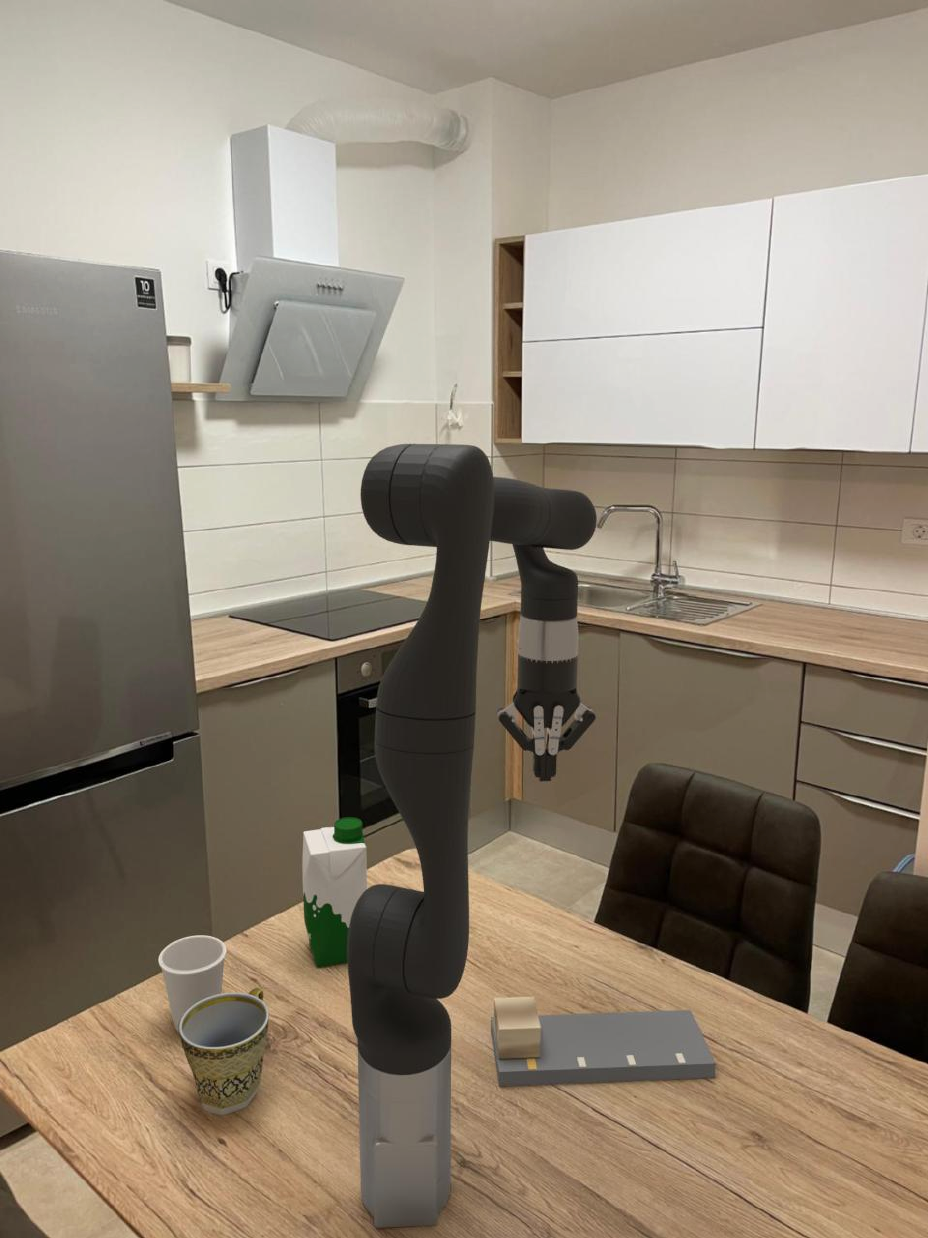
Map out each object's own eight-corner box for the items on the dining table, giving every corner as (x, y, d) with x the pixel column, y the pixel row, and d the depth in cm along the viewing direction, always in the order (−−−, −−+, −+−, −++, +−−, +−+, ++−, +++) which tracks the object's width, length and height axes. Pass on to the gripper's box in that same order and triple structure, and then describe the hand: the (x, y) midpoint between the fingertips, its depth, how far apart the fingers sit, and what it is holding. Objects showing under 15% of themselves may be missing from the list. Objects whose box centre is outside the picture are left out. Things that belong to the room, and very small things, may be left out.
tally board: (714, 1077, 111) (715, 1062, 110) (498, 1086, 109) (499, 1071, 109) (689, 1023, 121) (690, 1009, 120) (490, 1030, 119) (491, 1016, 118)
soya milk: (373, 962, 133) (370, 834, 129) (310, 973, 131) (305, 843, 126) (361, 930, 141) (358, 808, 137) (301, 939, 139) (297, 816, 134)
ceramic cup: (242, 1136, 102) (238, 1057, 99) (165, 1113, 105) (159, 1036, 103) (300, 1059, 114) (297, 987, 111) (229, 1041, 117) (225, 970, 114)
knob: (539, 1057, 111) (540, 1028, 110) (498, 1058, 111) (498, 1029, 110) (533, 1024, 117) (533, 996, 116) (493, 1026, 117) (494, 998, 116)
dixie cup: (168, 1050, 115) (163, 979, 113) (159, 1011, 122) (153, 943, 120) (236, 1031, 119) (232, 962, 116) (223, 994, 126) (219, 928, 124)
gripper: (497, 659, 112) (496, 792, 116) (606, 657, 113) (600, 790, 117) (492, 643, 119) (491, 768, 123) (594, 642, 120) (589, 767, 124)
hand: (544, 779), depth 120 cm, fingers closed
